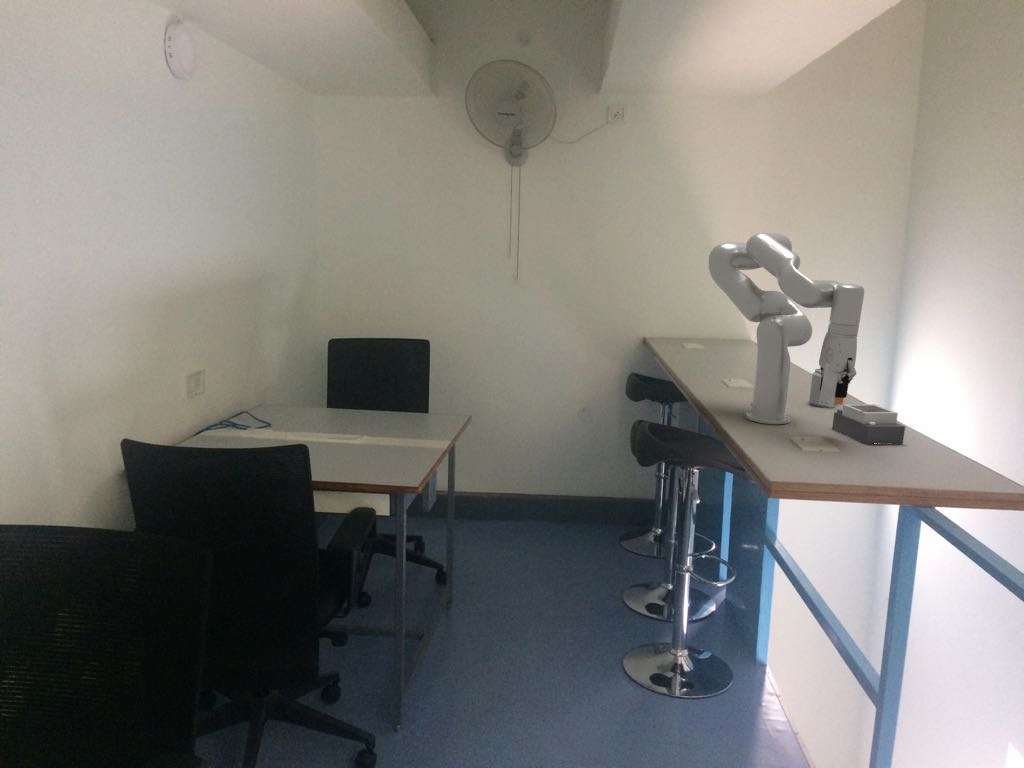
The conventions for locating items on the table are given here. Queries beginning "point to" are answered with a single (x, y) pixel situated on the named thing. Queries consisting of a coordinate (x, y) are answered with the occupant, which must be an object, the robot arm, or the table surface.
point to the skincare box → (829, 388)
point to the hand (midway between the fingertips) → (832, 393)
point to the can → (816, 388)
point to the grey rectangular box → (869, 424)
